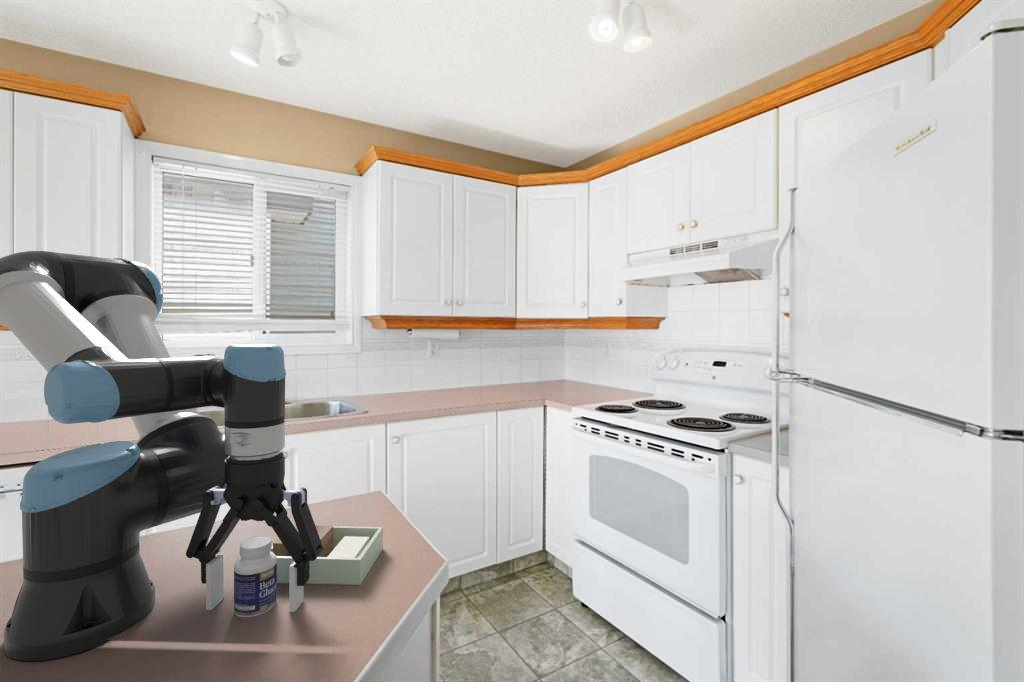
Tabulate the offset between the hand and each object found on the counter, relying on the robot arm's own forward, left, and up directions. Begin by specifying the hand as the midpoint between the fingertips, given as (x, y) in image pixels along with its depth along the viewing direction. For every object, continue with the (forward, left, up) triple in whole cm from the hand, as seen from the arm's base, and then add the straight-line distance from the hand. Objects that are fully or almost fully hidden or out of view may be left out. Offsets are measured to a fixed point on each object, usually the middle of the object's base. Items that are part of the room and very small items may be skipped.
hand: (255, 605), depth 68 cm
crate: (+5, +12, -1) cm, 13 cm away
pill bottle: (0, 0, -1) cm, 1 cm away
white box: (+9, +12, 0) cm, 15 cm away
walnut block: (+1, +12, 0) cm, 12 cm away
